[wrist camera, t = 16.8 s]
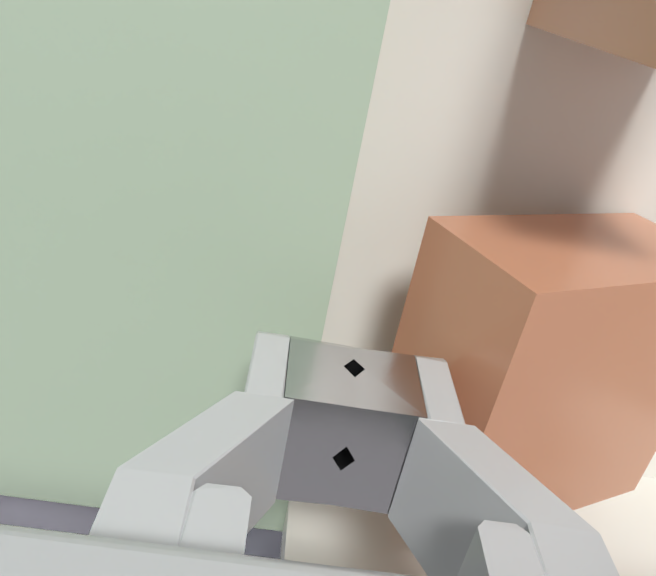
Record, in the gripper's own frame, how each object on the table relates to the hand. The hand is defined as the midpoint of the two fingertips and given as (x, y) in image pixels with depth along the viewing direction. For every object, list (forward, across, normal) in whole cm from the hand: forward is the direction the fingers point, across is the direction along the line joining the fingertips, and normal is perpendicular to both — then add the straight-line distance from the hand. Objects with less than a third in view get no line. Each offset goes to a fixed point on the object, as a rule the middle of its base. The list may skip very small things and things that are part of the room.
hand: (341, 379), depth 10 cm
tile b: (+2, -3, 0) cm, 4 cm away
